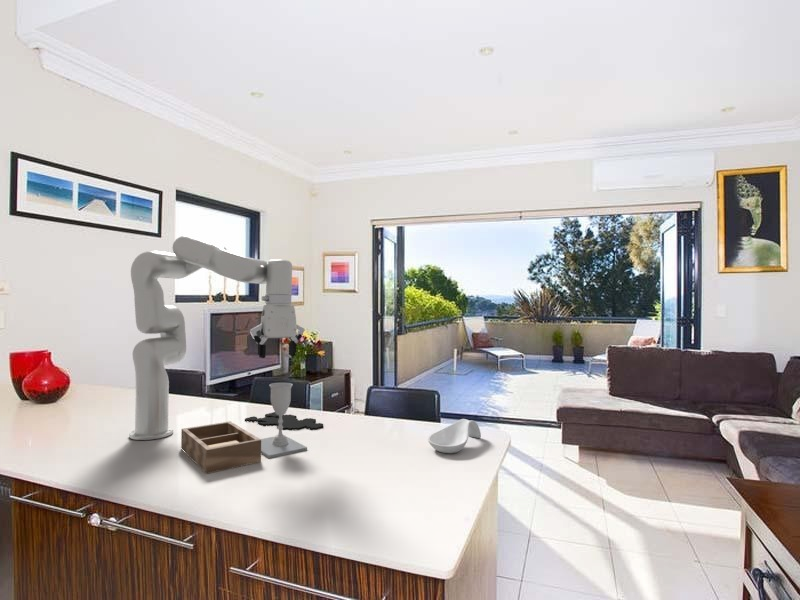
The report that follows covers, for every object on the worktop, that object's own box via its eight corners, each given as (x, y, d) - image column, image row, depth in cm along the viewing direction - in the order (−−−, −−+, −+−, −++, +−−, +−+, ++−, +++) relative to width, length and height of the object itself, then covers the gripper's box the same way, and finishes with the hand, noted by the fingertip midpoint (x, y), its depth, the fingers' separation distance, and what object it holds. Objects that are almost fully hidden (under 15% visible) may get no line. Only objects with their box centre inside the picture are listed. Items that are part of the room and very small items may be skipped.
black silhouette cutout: (243, 421, 169) (299, 435, 152) (243, 418, 169) (299, 433, 152) (277, 413, 182) (332, 425, 165) (277, 410, 182) (332, 423, 165)
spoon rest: (455, 460, 130) (455, 435, 130) (420, 452, 137) (421, 428, 137) (490, 440, 149) (490, 418, 149) (458, 434, 156) (458, 413, 156)
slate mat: (247, 444, 141) (247, 441, 141) (283, 437, 149) (283, 434, 149) (268, 458, 129) (268, 455, 129) (307, 449, 136) (307, 447, 136)
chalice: (296, 442, 140) (297, 384, 140) (279, 448, 135) (280, 388, 135) (280, 438, 145) (281, 381, 144) (263, 443, 139) (264, 384, 139)
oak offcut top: (203, 453, 127) (203, 446, 127) (236, 447, 133) (236, 440, 133) (213, 461, 121) (213, 453, 121) (246, 454, 127) (246, 447, 127)
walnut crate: (181, 449, 136) (181, 428, 136) (230, 440, 145) (230, 421, 145) (206, 473, 117) (207, 450, 117) (260, 461, 126) (261, 439, 126)
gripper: (256, 300, 131) (254, 359, 130) (310, 301, 142) (308, 356, 142) (246, 299, 136) (244, 357, 136) (298, 300, 147) (297, 353, 147)
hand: (277, 356), depth 139 cm, fingers open, 9 cm apart
